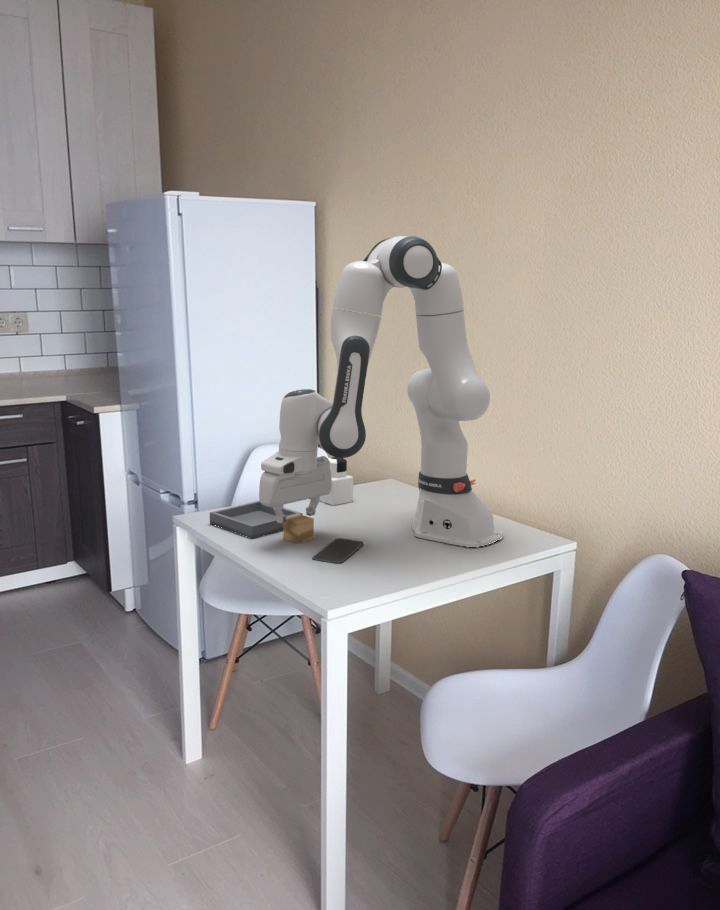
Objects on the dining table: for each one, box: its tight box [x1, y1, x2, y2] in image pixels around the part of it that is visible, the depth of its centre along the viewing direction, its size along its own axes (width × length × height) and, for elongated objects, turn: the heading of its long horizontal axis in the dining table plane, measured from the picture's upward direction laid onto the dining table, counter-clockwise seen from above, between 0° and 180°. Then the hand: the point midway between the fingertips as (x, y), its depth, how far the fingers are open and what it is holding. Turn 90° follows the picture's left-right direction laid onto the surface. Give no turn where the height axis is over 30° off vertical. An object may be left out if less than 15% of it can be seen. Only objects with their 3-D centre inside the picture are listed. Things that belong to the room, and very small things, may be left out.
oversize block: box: [282, 514, 315, 544], centre depth 188 cm, size 5×5×5 cm
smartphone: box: [311, 537, 365, 565], centre depth 180 cm, size 7×1×15 cm
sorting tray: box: [209, 500, 303, 540], centre depth 198 cm, size 16×16×3 cm
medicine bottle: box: [319, 456, 354, 506], centre depth 220 cm, size 7×7×12 cm
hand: (296, 518), depth 187 cm, fingers open, 8 cm apart
